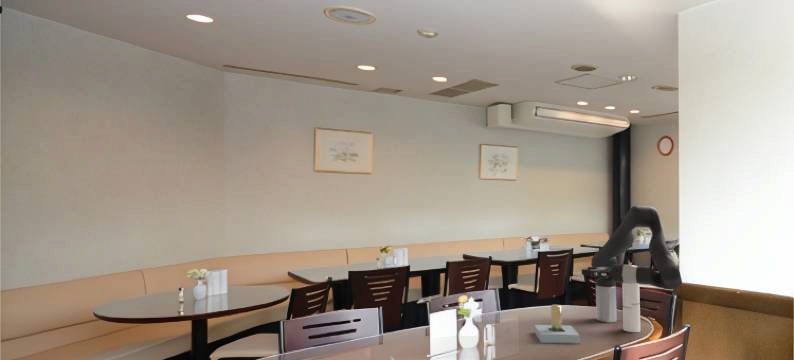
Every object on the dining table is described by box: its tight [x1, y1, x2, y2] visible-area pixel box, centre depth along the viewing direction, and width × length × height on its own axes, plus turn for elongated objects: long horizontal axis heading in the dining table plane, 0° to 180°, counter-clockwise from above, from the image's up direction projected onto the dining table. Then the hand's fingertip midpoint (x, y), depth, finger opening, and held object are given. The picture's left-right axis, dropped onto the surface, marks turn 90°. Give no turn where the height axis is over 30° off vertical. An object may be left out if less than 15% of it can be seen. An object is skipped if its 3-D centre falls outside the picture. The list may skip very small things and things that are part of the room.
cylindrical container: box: [621, 283, 641, 333], centre depth 234 cm, size 7×7×25 cm
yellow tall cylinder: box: [550, 304, 563, 332], centre depth 222 cm, size 4×4×14 cm
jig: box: [534, 324, 581, 344], centre depth 222 cm, size 16×16×4 cm
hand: (584, 270), depth 217 cm, fingers open, 8 cm apart
